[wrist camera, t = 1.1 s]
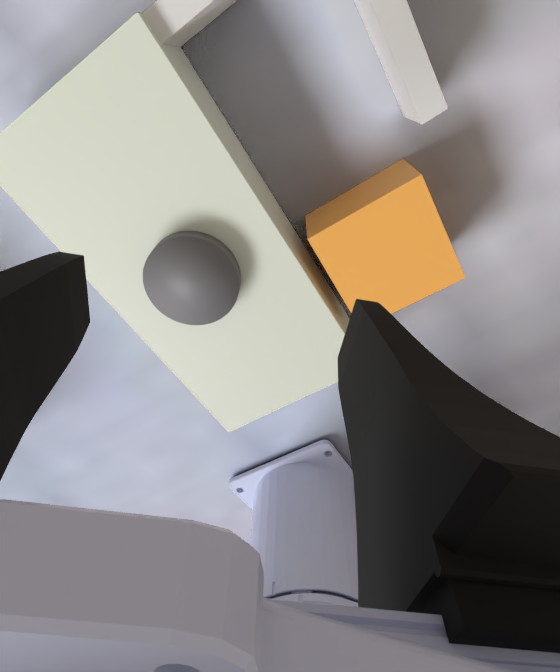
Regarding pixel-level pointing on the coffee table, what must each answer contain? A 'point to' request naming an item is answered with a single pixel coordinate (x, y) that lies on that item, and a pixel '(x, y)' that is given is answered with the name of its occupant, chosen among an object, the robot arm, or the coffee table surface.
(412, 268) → the chute block
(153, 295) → the white notched block
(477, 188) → the coffee table surface
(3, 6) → the coffee table surface
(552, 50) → the coffee table surface
